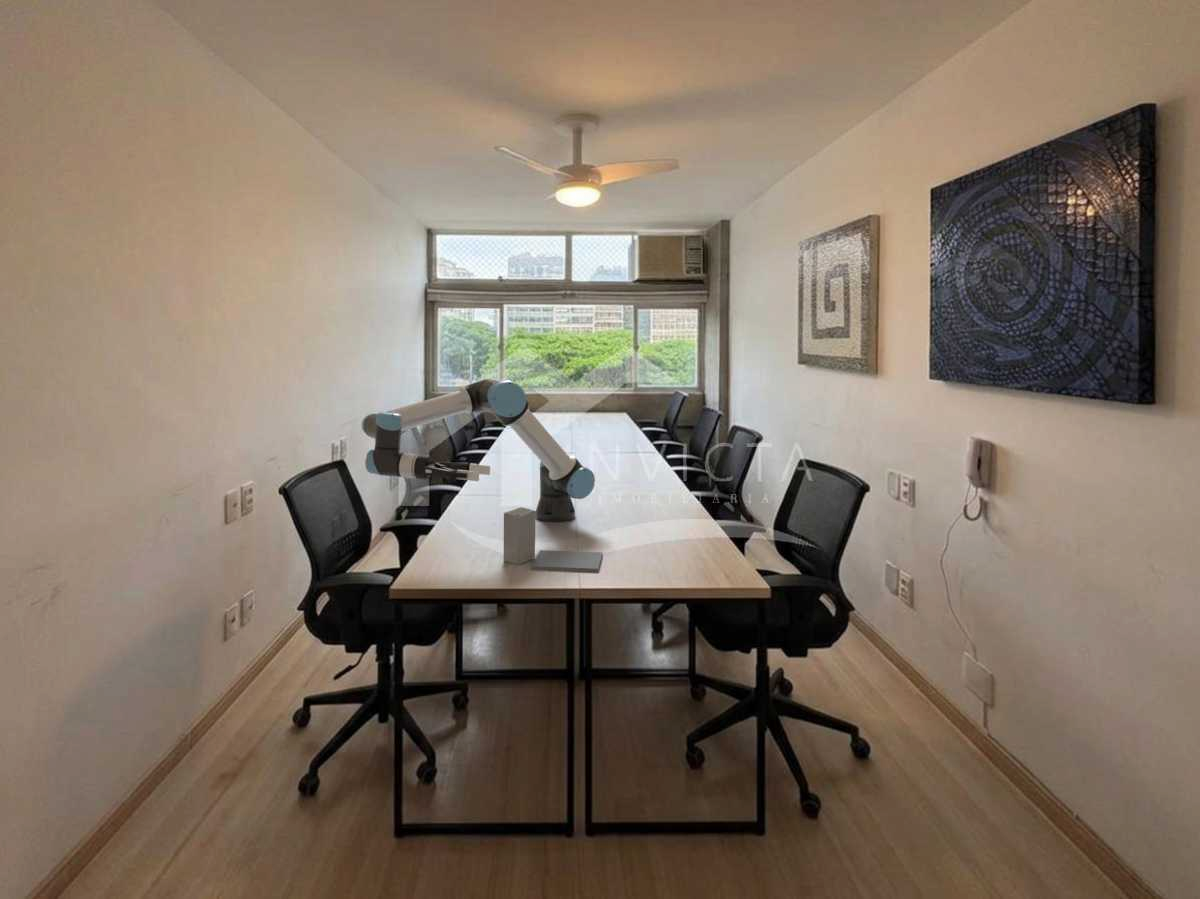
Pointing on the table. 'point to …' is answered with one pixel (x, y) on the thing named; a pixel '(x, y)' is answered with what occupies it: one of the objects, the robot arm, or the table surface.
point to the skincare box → (519, 535)
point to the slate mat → (567, 561)
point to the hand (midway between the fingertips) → (484, 473)
